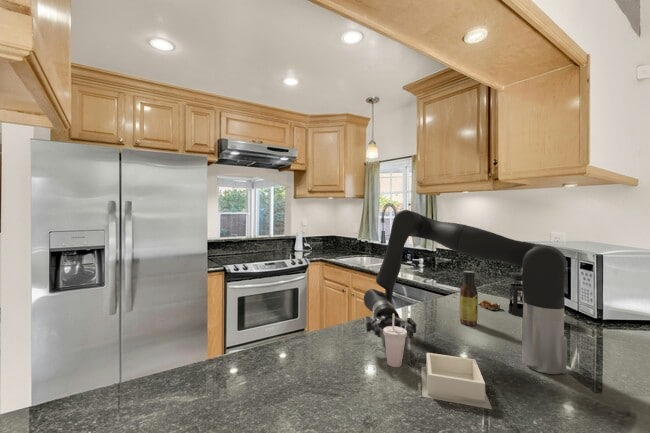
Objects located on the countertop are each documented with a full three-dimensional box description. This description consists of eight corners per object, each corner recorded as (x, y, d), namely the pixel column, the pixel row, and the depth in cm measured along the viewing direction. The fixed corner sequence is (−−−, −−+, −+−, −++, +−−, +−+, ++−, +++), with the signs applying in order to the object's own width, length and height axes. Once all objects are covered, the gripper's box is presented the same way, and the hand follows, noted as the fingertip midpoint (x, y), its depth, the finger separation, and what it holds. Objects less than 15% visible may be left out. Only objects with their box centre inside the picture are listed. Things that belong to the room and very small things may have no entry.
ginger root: (482, 303, 146) (482, 296, 146) (504, 311, 135) (504, 303, 135) (471, 304, 144) (471, 297, 144) (493, 312, 132) (493, 304, 132)
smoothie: (389, 357, 88) (390, 309, 87) (410, 365, 84) (411, 314, 83) (377, 366, 83) (379, 314, 83) (399, 374, 79) (401, 320, 78)
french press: (501, 311, 133) (503, 258, 132) (514, 308, 137) (516, 257, 137) (530, 320, 122) (532, 262, 122) (543, 317, 127) (545, 261, 126)
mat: (478, 377, 78) (478, 375, 78) (492, 411, 64) (492, 409, 64) (421, 368, 82) (421, 366, 82) (422, 399, 68) (422, 396, 68)
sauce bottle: (479, 327, 113) (480, 273, 113) (461, 325, 115) (462, 272, 114) (474, 321, 120) (475, 270, 120) (457, 319, 121) (458, 269, 121)
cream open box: (474, 377, 77) (475, 359, 77) (484, 404, 66) (485, 383, 66) (426, 369, 80) (426, 352, 80) (427, 394, 69) (428, 374, 69)
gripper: (363, 302, 100) (369, 319, 83) (407, 303, 99) (421, 321, 83) (362, 325, 100) (368, 347, 83) (406, 326, 99) (421, 348, 83)
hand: (394, 334), depth 83 cm, fingers open, 8 cm apart
